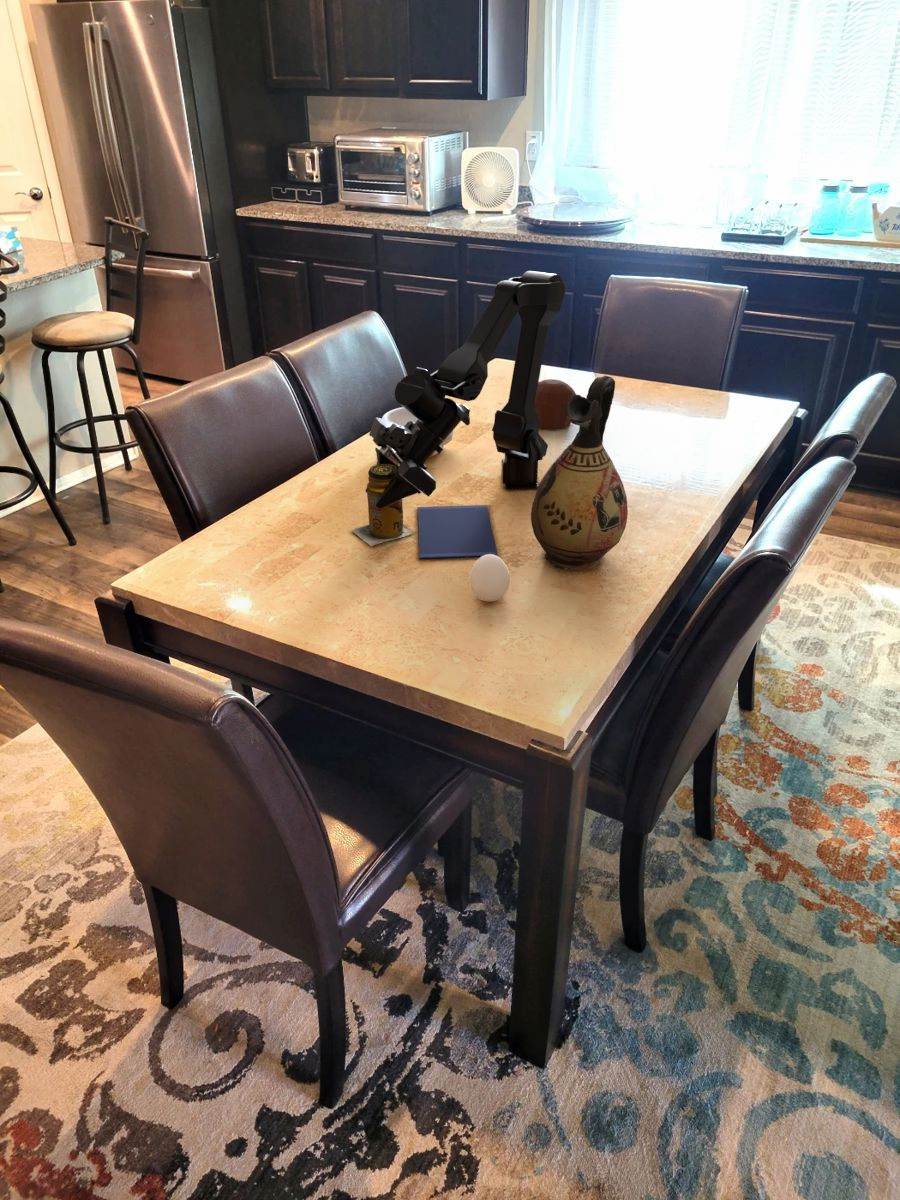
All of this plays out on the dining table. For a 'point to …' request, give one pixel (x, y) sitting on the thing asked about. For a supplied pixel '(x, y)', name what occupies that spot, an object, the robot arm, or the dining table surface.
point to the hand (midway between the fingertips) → (372, 499)
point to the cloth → (455, 532)
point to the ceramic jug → (582, 489)
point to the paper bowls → (404, 416)
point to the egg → (489, 578)
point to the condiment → (381, 510)
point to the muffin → (552, 404)
